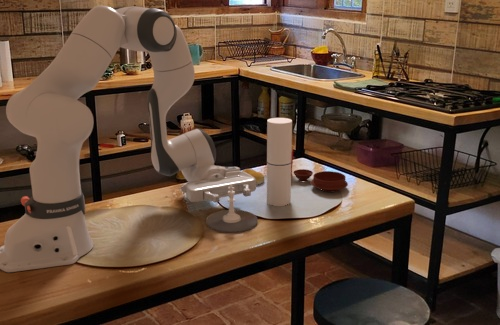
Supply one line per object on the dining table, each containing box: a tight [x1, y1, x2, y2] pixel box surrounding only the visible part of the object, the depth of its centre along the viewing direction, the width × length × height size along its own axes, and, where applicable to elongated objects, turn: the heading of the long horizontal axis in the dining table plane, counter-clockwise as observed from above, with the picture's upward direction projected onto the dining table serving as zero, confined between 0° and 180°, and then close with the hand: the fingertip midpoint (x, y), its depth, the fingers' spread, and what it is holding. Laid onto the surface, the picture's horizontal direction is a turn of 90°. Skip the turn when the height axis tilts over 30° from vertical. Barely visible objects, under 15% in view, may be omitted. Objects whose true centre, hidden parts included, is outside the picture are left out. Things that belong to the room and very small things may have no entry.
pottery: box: [293, 169, 349, 193], centre depth 183 cm, size 12×20×4 cm, turn 44°
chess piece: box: [223, 185, 241, 223], centre depth 154 cm, size 5×5×10 cm
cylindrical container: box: [266, 117, 293, 207], centre depth 166 cm, size 7×7×25 cm
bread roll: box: [242, 168, 265, 186], centre depth 187 cm, size 8×9×4 cm
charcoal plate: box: [206, 209, 258, 234], centre depth 155 cm, size 14×14×1 cm
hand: (233, 196), depth 152 cm, fingers open, 8 cm apart
